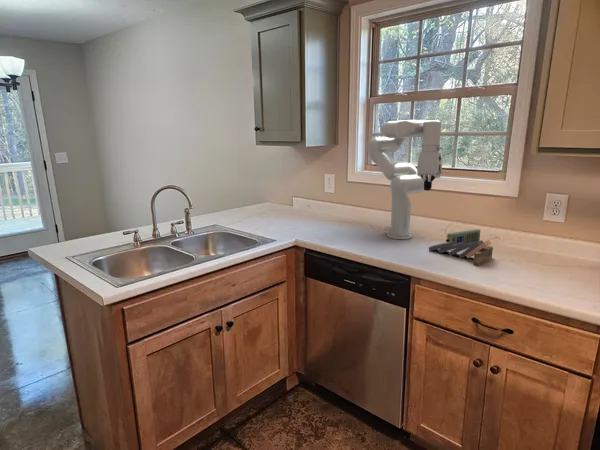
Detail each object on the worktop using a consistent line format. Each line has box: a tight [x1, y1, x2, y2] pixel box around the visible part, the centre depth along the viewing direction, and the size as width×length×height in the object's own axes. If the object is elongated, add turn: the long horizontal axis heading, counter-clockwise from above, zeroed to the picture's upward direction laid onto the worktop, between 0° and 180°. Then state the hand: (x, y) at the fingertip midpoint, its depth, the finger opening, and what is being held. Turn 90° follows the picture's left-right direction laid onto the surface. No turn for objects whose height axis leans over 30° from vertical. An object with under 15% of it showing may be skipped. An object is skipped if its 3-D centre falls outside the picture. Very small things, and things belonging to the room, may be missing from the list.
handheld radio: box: [445, 228, 481, 245], centre depth 186 cm, size 7×3×25 cm
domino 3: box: [447, 242, 475, 256], centre depth 170 cm, size 2×5×10 cm
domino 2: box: [438, 242, 465, 254], centre depth 173 cm, size 2×5×10 cm
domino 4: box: [458, 239, 485, 259], centre depth 167 cm, size 2×5×10 cm
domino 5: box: [465, 239, 492, 259], centre depth 165 cm, size 2×5×10 cm
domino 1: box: [428, 241, 454, 252], centre depth 177 cm, size 2×5×10 cm
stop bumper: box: [472, 245, 494, 267], centre depth 164 cm, size 2×14×5 cm, turn 134°
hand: (427, 189), depth 178 cm, fingers closed
